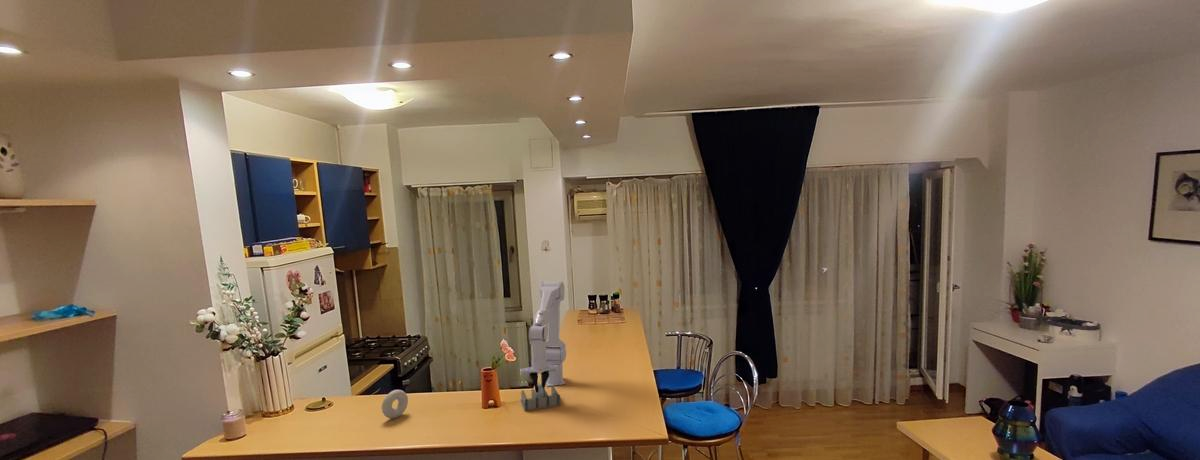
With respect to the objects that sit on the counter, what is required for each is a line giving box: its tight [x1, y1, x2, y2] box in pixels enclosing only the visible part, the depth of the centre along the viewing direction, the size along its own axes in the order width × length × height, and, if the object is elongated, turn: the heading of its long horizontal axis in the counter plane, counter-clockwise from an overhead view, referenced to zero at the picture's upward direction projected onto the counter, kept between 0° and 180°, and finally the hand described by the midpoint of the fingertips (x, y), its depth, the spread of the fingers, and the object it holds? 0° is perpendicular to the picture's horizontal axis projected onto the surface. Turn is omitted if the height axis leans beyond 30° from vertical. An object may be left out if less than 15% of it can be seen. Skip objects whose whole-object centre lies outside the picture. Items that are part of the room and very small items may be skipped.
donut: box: [381, 389, 409, 420], centre depth 169 cm, size 10×4×10 cm, turn 149°
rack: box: [520, 386, 561, 412], centre depth 179 cm, size 10×14×4 cm
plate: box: [536, 382, 544, 397], centre depth 180 cm, size 7×2×6 cm, turn 18°
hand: (539, 391), depth 180 cm, fingers closed on plate, 2 cm apart
